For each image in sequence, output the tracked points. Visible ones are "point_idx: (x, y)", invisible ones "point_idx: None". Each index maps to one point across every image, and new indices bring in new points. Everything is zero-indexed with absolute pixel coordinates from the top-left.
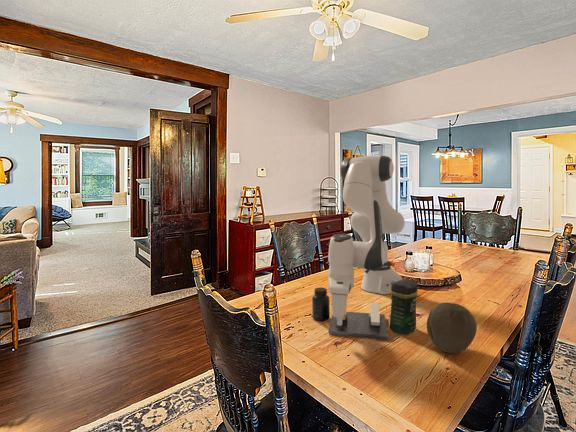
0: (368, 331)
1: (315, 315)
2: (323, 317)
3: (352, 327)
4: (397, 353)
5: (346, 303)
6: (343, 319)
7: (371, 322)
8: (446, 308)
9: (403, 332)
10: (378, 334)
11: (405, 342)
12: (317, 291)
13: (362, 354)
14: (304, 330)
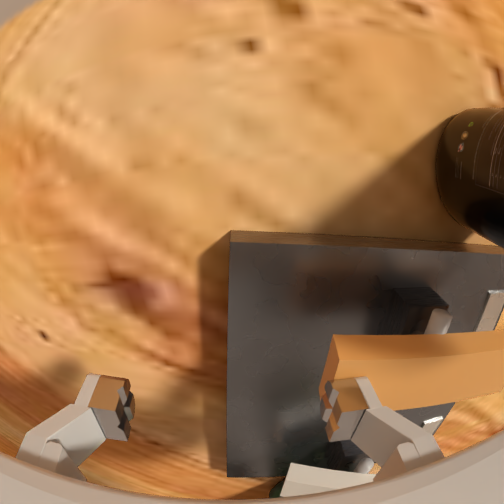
0: (259, 439)
1: (469, 125)
2: (453, 189)
3: (303, 383)
4: (141, 466)
5: (495, 392)
6: (321, 379)
7: (286, 477)
8: None
9: (270, 497)
10: (236, 461)
11: (225, 487)
12: None
13: (77, 386)
14: (280, 33)
